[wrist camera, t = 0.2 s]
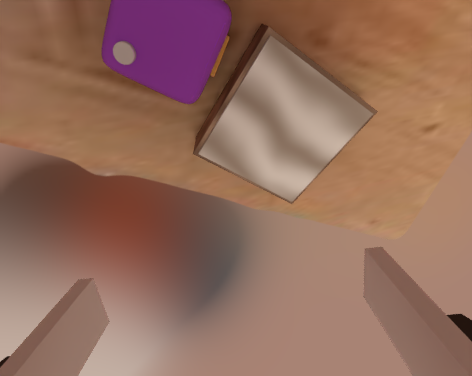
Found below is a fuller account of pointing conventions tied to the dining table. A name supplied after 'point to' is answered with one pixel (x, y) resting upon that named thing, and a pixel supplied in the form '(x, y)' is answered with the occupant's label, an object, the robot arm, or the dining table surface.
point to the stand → (280, 118)
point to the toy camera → (167, 43)
